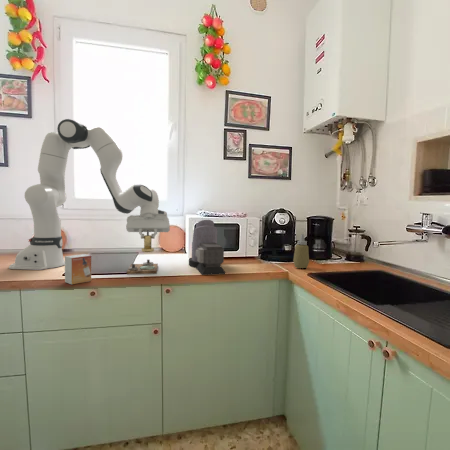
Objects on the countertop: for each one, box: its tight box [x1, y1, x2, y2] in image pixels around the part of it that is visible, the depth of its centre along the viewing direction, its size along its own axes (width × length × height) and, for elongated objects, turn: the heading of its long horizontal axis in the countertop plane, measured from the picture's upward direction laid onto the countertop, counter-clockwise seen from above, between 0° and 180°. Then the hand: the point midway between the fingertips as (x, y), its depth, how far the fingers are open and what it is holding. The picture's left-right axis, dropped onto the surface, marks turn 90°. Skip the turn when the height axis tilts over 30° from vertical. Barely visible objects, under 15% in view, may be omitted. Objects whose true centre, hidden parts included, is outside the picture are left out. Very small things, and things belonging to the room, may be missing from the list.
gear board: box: [126, 259, 159, 275], centre depth 135 cm, size 13×15×4 cm
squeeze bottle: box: [293, 233, 310, 269], centre depth 149 cm, size 8×8×18 cm
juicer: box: [188, 219, 226, 276], centre depth 144 cm, size 30×16×24 cm, turn 18°
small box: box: [64, 253, 92, 285], centre depth 112 cm, size 8×6×10 cm
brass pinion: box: [141, 230, 155, 253], centre depth 133 cm, size 6×6×10 cm
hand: (147, 237), depth 132 cm, fingers closed on brass pinion, 3 cm apart
